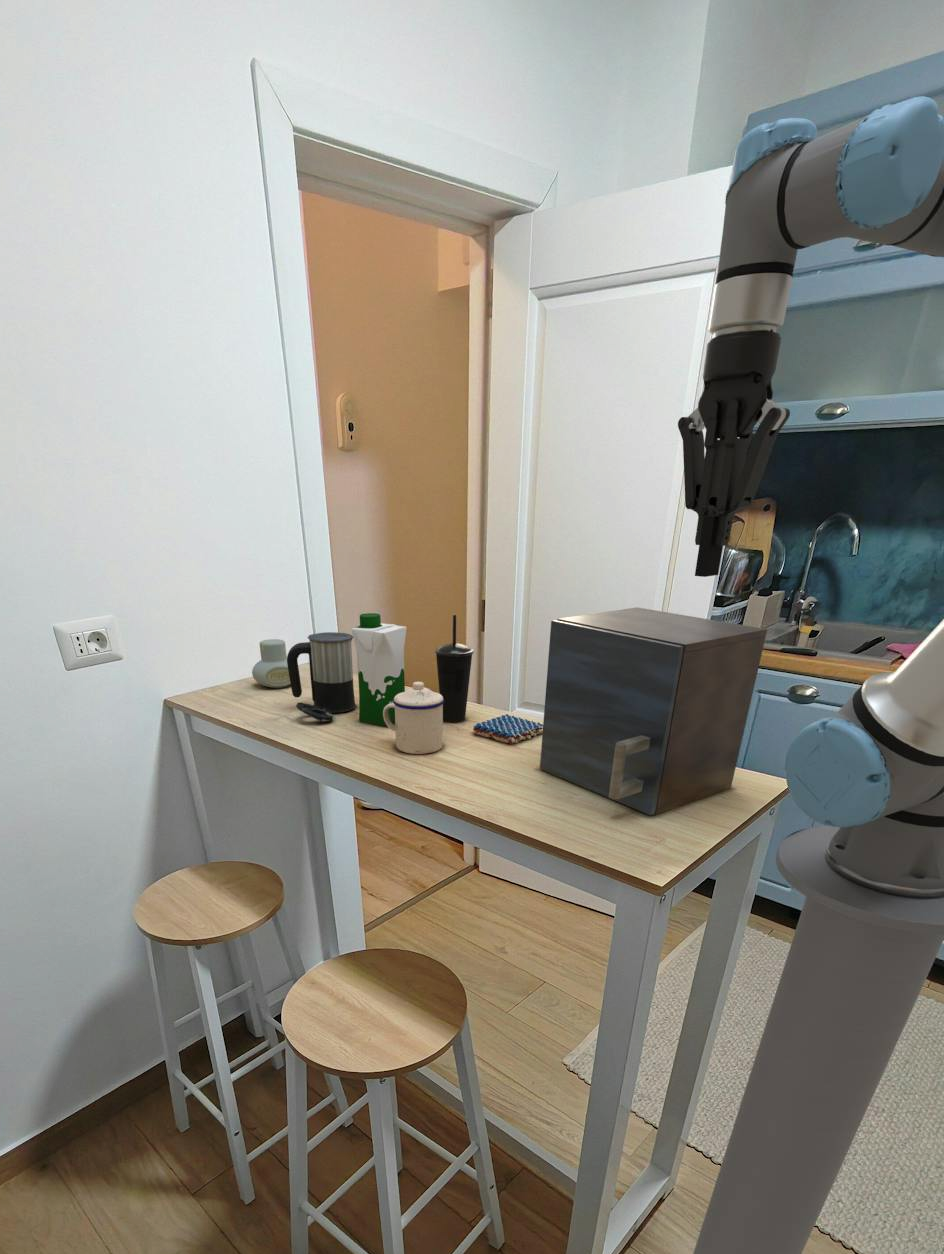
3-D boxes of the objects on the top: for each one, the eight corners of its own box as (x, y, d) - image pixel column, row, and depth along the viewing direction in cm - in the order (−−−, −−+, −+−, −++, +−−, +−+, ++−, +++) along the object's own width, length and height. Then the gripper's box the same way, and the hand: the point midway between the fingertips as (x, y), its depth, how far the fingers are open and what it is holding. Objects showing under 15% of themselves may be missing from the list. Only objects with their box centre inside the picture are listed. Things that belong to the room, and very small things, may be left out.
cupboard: (655, 815, 104) (685, 644, 92) (544, 768, 121) (557, 618, 109) (731, 788, 113) (767, 629, 100) (617, 747, 130) (637, 607, 117)
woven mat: (546, 733, 137) (547, 723, 136) (511, 746, 131) (512, 735, 130) (505, 722, 143) (506, 712, 142) (470, 734, 137) (470, 723, 136)
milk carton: (378, 711, 151) (373, 610, 140) (413, 718, 146) (411, 614, 136) (352, 721, 144) (345, 617, 134) (388, 729, 140) (384, 621, 130)
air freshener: (258, 691, 165) (252, 646, 159) (250, 683, 171) (244, 640, 166) (304, 686, 168) (299, 642, 163) (294, 678, 175) (290, 636, 170)
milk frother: (350, 700, 158) (346, 630, 150) (370, 719, 145) (366, 644, 138) (287, 707, 154) (279, 635, 146) (302, 727, 141) (294, 650, 133)
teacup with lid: (452, 743, 132) (452, 679, 126) (429, 758, 126) (428, 691, 120) (397, 734, 137) (395, 672, 131) (372, 748, 131) (368, 683, 124)
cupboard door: (623, 825, 101) (649, 652, 88) (513, 776, 118) (522, 624, 105) (655, 814, 104) (684, 645, 92) (543, 767, 121) (555, 619, 108)
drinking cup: (478, 716, 147) (481, 613, 136) (462, 726, 141) (464, 620, 131) (445, 711, 150) (445, 610, 139) (428, 721, 144) (427, 616, 134)
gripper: (822, 327, 74) (771, 576, 86) (713, 346, 83) (681, 569, 95) (782, 320, 70) (735, 582, 82) (672, 341, 79) (644, 574, 91)
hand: (706, 575), depth 88 cm, fingers closed
